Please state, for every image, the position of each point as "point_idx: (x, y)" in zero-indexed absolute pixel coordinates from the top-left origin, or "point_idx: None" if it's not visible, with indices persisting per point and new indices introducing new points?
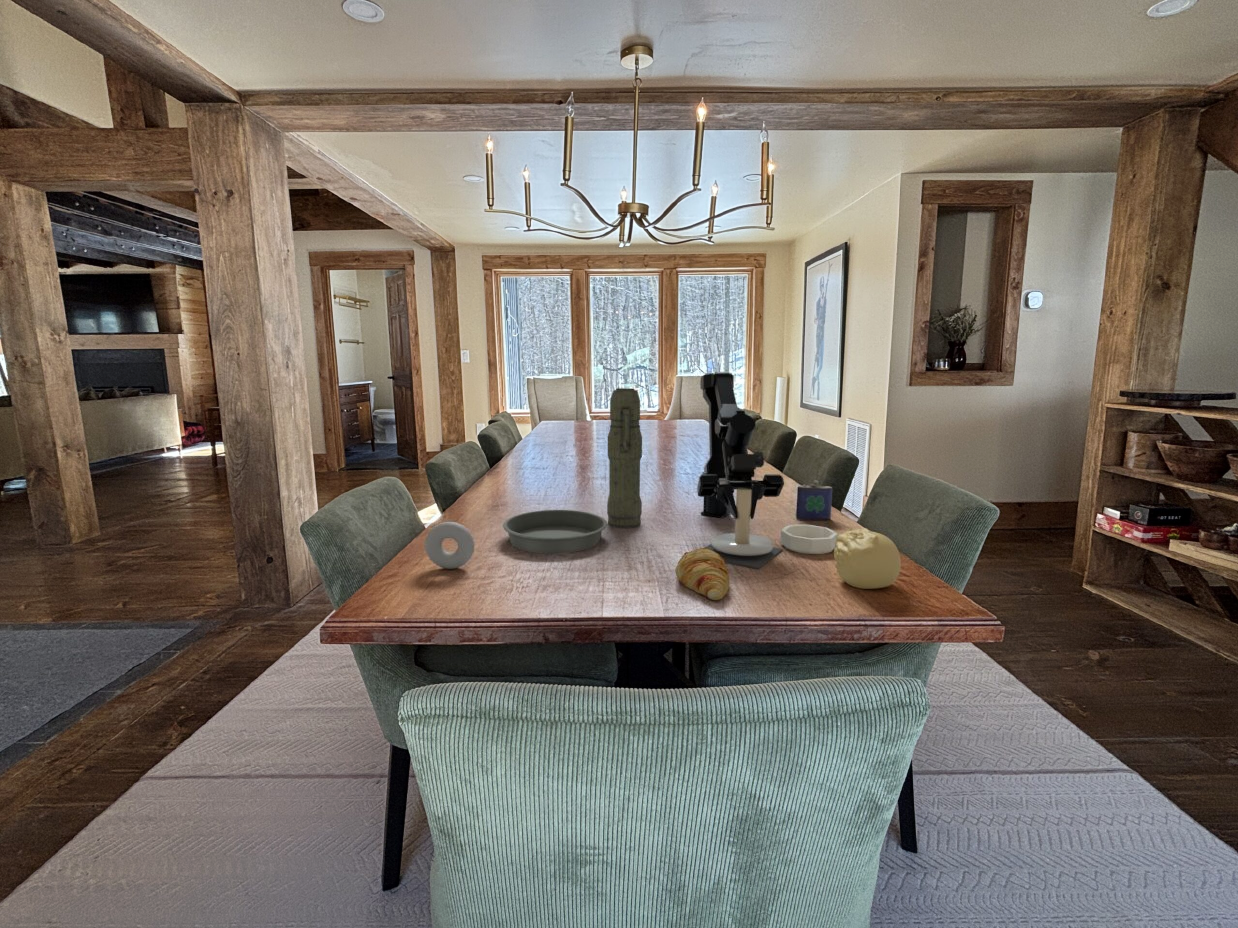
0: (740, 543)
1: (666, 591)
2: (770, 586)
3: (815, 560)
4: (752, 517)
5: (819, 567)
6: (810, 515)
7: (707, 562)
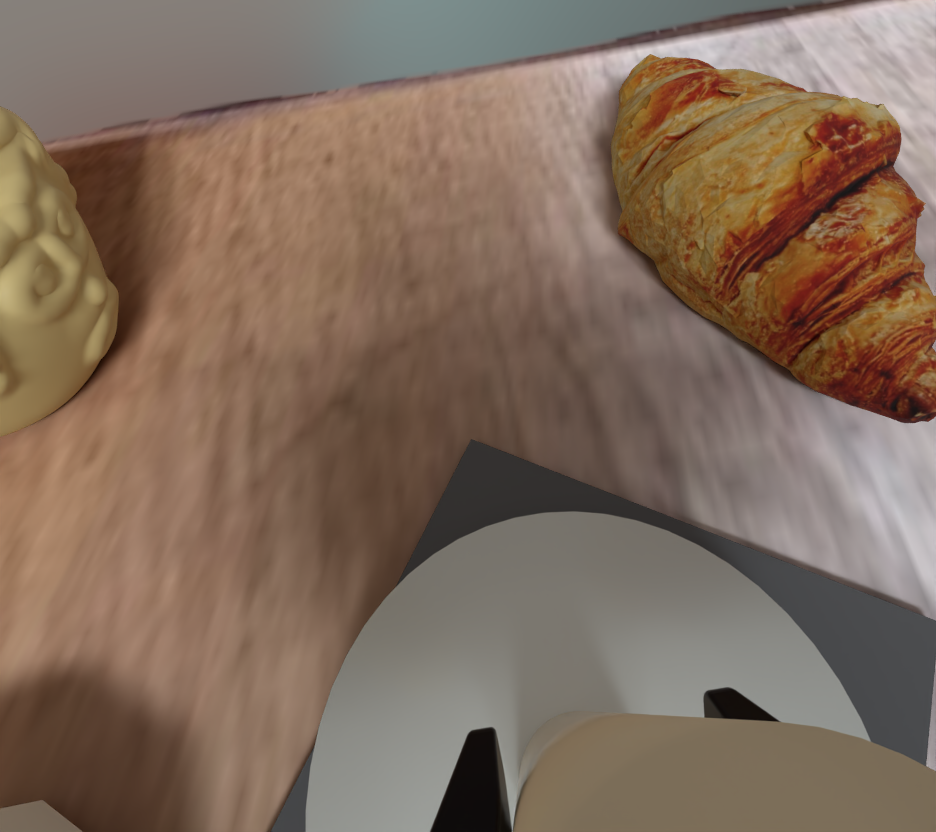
0: (597, 711)
1: None
2: (440, 260)
3: (86, 670)
4: (487, 729)
5: (125, 536)
6: None
7: (741, 85)
